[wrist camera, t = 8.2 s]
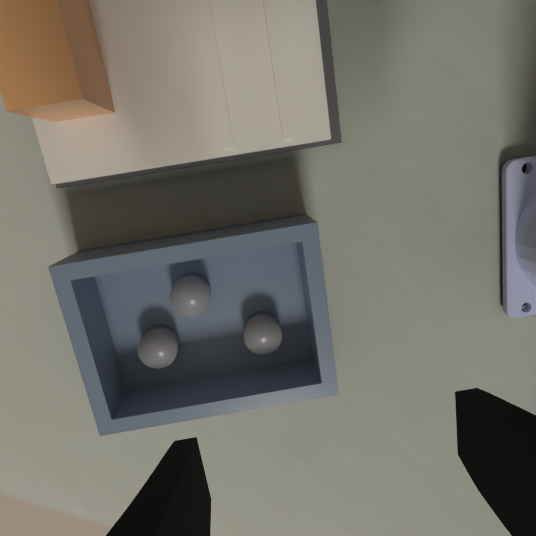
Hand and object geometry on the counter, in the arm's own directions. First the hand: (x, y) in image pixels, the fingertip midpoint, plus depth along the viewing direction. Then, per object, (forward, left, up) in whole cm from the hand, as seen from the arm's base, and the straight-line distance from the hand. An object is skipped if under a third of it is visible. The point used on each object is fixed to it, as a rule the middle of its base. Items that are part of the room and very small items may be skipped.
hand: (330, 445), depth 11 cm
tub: (+4, -1, -10) cm, 11 cm away
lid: (+3, -12, -10) cm, 16 cm away
